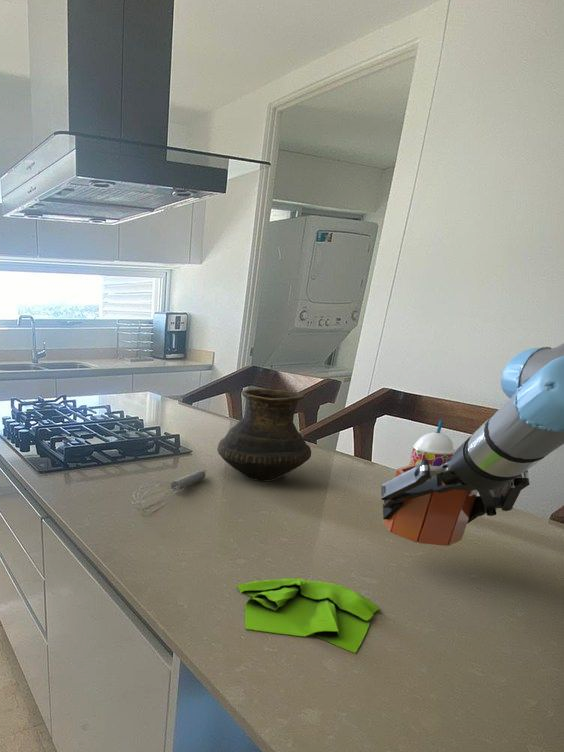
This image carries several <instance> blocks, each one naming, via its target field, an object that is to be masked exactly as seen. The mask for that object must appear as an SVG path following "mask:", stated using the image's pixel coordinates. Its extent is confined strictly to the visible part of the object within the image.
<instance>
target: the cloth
mask: <svg viewBox="0 0 564 752" xmlns="http://www.w3.org/2000/svg"><path fill="white" fill-rule="evenodd" d="M236 588H238V591H239V593H240V594H242V593H244V594H245V595H247V596H249V599H247V601H246V603H245V605H244V630H247V631H248V630H249V631H253V632H254V631H255V632H261V633H262V632H263V633H270V634H277V635H283V636H284V635H286V636H292V637H302V638H306V637H308V636H313V637H314V638H318V639H321V640H323V641H326V642H327V643H329V644H332V645H334V646H336V647H339V648H340V649H343V650H345V651H348V652H350V653H353V654H356V653H357V652H358V651H359V648H360V646H361V644H362V643H363V640H364V638H366V637H365V636H366V635H367V632H368V630H369V627H370V626H371V622H372V617H374V613H376V612H377V611H379V610H380V607H379V606H378V605H377V604H376V603H374V602H373V601H372V600H370V599H368V598H366V597H365V596H364V595H362V594H360V593H358V592H356V591H355V590H353V589H351V588H348V587H346V586H344V585H340V584H338V583H334V582H333V583H332V582H325V581H322V580H321V581H320V580H315V581H314V580H308V579H304V578H291V577H289V578H287V577H286V578H279V579H278V578H277V579H275V578H272V579H266V580H255V581H250V582H247V583H246V582H245V583H241V584H237V585H236ZM263 596H265V597H263ZM260 597H261V598H260Z"/></svg>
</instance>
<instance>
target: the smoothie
mask: <svg viewBox="0 0 564 752" xmlns="http://www.w3.org/2000/svg"><path fill="white" fill-rule="evenodd" d="M443 423H444V420H441V419H440V420H439V422H438V426H437V428H436V429H437V430H436V431H433V432H431V431H430V432H428V433H425V434H423V435H422V436H420V437H419V438H418V439H417V440H416V442H415V443H413V445H412V450H411V455H410V459H409V465H418V463H419V462H420V461H423V460H428V461H429V464H430V466H441V465H442V464H444V463H446V462H449V461H450V460H451V458H452V456H453V454H454V453H455V451H456V449H454V443H453V441H452V439H451V438H450V437H449V436H448V435H447V434H445V433H443V432H441V430H442V427H443Z"/></svg>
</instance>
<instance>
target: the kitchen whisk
mask: <svg viewBox="0 0 564 752" xmlns="http://www.w3.org/2000/svg"><path fill="white" fill-rule="evenodd" d="M206 473H207V470H205V469H204V470H201V469H200V470H196V471H193V472H191V473H189V474H187V475H184V476H182V477H180V478H177V479H175V480H172V482H171V481H170V482H169V481H167V482H164V480H163V481H161V480H159V481H158V480H157V481H154V483H160V484H156V485H150V486H149V485H148V486H145V485H147V484H151V483H152V484H153V481H150V482H147V483H144V484H143V485H141V487H140V488H139V489H136V490H135V491H134V492H133V494H132V497H133V499H134V501H132V504H135V503H136V504H137V507H136V510H138V511H140V509H142V510H141V511H143V512H144V513H148V512H149V511H146V510H145V509H144V508H146V507H147V508H149V509H157V508H159V507H160V506H161V507H162V506H164V505H165V504H167V503H168V502H169V501H170V500H171V499H172V498H173V496H174V495H175V493H177V492H179V491H181V490H183V489H185V488H188V487H190V486H192V485H194V484H196V483H198V482H200V481H203V480H204V479H205V477H206ZM163 485H167V486H170V487H168V488H165V489H162V490H159V491H157V492H154V493H151V494H148V495H146V494H147V493H148V492H149V491H151V490H152V489H153V488H155V487H157V486H161V487H162V486H163ZM146 488H149V489H148V490H147V491H146V492H145V493H144V494H142V496H141V498H139V497H137V499H136V498H135V493H137V492H138V493H137V496H139V494H140V491H141V490H143V489H146ZM169 489H170V490H169ZM166 490H169V491H167V492H165V493H163V494H160V495H158V496H155V497H152V498H150V499H146V500H143V499H144V498H146V497H150V496H152V495H156V494H157V493H160V492H163V491H166ZM172 491H173V492H172ZM171 492H172V493H171ZM169 493H171V495H170V496H169V497H168V498H167V499H166V500H165V501H164V502H165V503H164V502H163V503H164V504H163V503H162V504H163V505H162V504H161V505H158V506H149V507H148V506H147V505H144V504H142V503H144V502H148V501H152V500H154V499H157V498H159V497H160V498H159V499H160V500H161V499H162V498H164V497H165V496H167V495H168V494H169ZM142 500H143V501H142ZM139 506H140V509H139ZM142 506H143V507H144V508H142ZM161 507H160V508H161Z"/></svg>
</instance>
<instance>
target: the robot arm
mask: <svg viewBox="0 0 564 752" xmlns="http://www.w3.org/2000/svg"><path fill="white" fill-rule="evenodd" d="M500 385H501V390H502V392H503V394H505V396H506V397H508V398H509V399H508V400H507V401H506V402H505V403H504V404H503V405H502V406H501V407H500V408H499V409H498V410H496V411H495V412H493V414H492V415H491V416H490V417H489V418H488V419H487V420H486V421H485V422H484V423H483V424H482V425H480V426H479V427H478V429H477V430H476V431H474V432H473V433H472V435H470V436H469V437H468V438H467V439H466V440H465V441H464V442H463V443H462V444H461V445H459V447H458V448H456V449H455V452H454V454H453V456H452V458H451V460H450V461H449V462H446V463H444V464H442V465H441V466H430V464H429V461H428V460H423V461H420V462H419V463H418V465H417V466H416V467H415V468H413V469H411V470H409V471H407V472H405V473H403V474H401V475H399V476H397V477H396V478H395V477H394V478H391V479H390V480H388V481H385V482H384V483H382V484H381V485H380V496H381V497H380V498H381V500H382V501H383V502H384V503H383V504H382V518H383V519H382V520H384V519H387V520H388V519H389V518H390V517H391V516H392V515H393V514H394V513H395V512H396V511H397V510H399V509H400V508H401V507H402V506H403V501H406V500H410V499H413V498H416V497H420V496H423V495H427V494H430V493H433V492H438V493H444V492H447V491H451V490H454V489H457V490H460V489H462V490H467V491H473V490H477V491H478V493H477V494H478V495H477V496H476V499H475V502H474V505H473V508H472V511H471V514H470V516H469V519H468V522H467V525H468V524H469V523H471V522H472V521H474V520H475V519H477V518H478V517H483V516H485V515H486V516H488V517H493V516H496V515H497V509H501V511H502V512H509V511H512V510H513V508H514V505H515V503H516V502H517V499H518V497H519V495H520V494H521V491H522V490H523V489H525V488H527V487H528V486H530V483H531V482H530V478H529V477H530V476H529V469H531V468H532V467H533V466H535V465H536V464H538V463H539V462H541V461H542V460H543V459H544V458H546V457H547V456H548V455H550V454H551V453H553V452H555V450H557V449H558V448H560V447H562V446H563V445H564V342H563V343H562V344H560V345H557V346H555V347H550V346H542V347H533V348H528V349H525V350H522V351H520V352H518V353H517V354H516V355H514V356H513V357H512V358H511V359H510V360H509V361H508V363H507V364H506V365H505V367H504V368H503V371H502V373H501V378H500ZM442 481H443V483H444V484H445V485H443V484H442ZM501 488H502V489H501ZM498 489H501V492H500V494H499V496H495V493H494V490H498Z"/></svg>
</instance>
